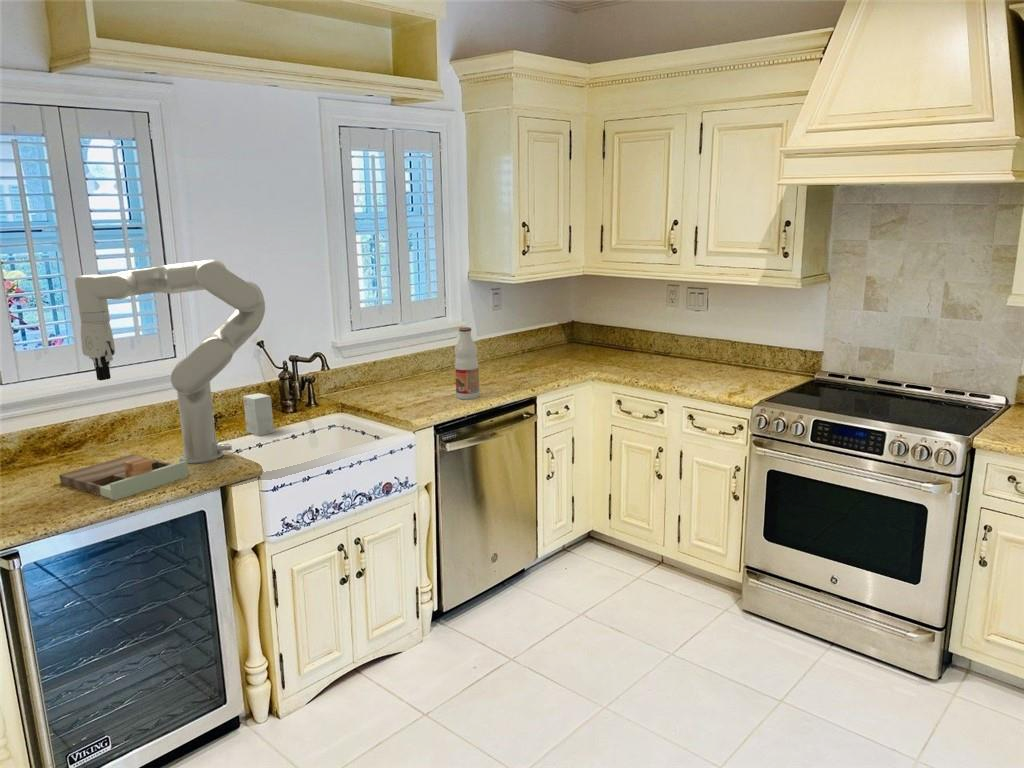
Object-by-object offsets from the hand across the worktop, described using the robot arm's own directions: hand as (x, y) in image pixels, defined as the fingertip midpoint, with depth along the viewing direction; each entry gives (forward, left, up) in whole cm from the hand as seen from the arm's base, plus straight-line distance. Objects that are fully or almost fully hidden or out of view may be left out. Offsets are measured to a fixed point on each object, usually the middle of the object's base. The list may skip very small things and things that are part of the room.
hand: (104, 379), depth 227 cm
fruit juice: (-116, -56, -27) cm, 132 cm away
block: (-12, +22, -25) cm, 35 cm away
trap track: (-4, +12, -27) cm, 30 cm away
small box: (-39, -27, -27) cm, 55 cm away
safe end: (-13, +21, -27) cm, 37 cm away
